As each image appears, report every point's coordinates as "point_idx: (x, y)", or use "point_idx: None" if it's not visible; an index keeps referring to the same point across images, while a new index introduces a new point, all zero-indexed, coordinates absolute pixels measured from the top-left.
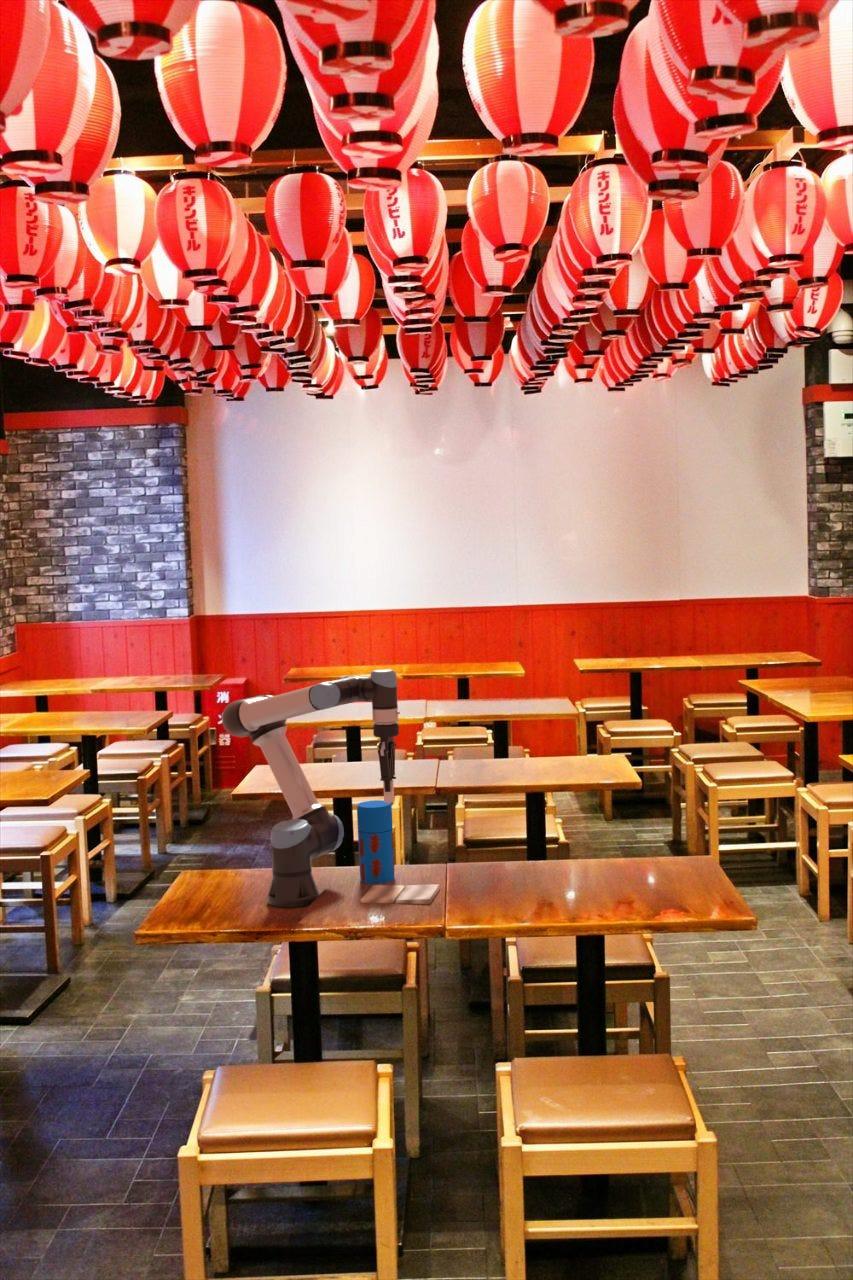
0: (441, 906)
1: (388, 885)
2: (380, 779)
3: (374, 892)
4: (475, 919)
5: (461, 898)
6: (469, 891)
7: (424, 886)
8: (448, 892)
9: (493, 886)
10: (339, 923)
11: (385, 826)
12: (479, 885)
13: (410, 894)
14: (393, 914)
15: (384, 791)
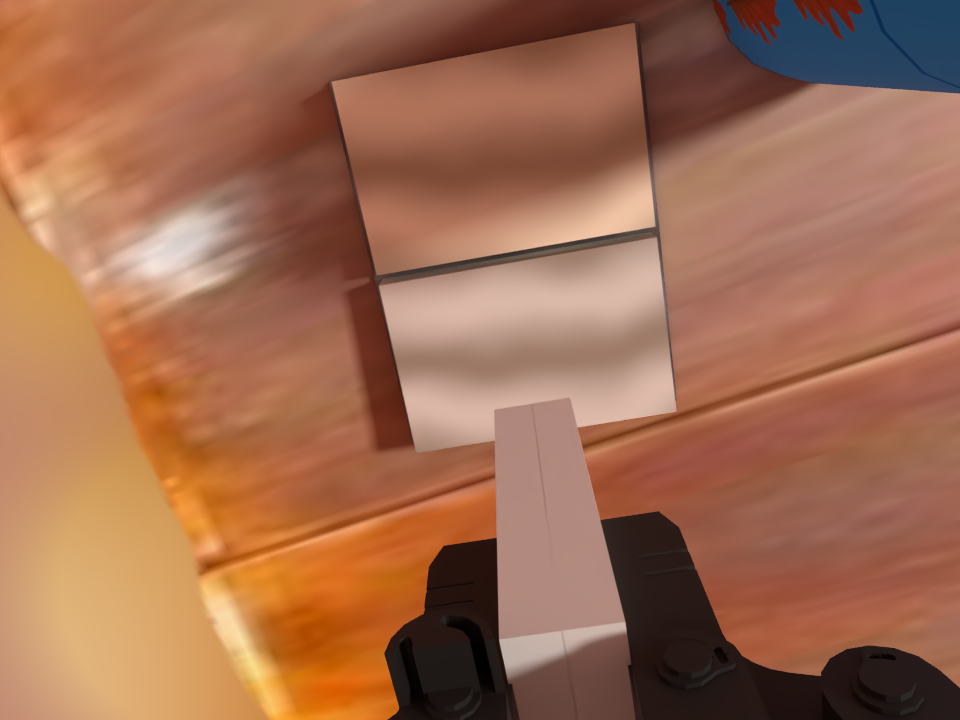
0: (461, 469)
1: (640, 127)
2: (390, 651)
3: (486, 102)
4: (332, 645)
5: (600, 511)
6: (716, 510)
7: (635, 346)
8: (685, 427)
9: (810, 582)
10: (41, 93)
11: (952, 73)
12: (820, 522)
13: (483, 326)
14: (277, 305)
15: (497, 511)
